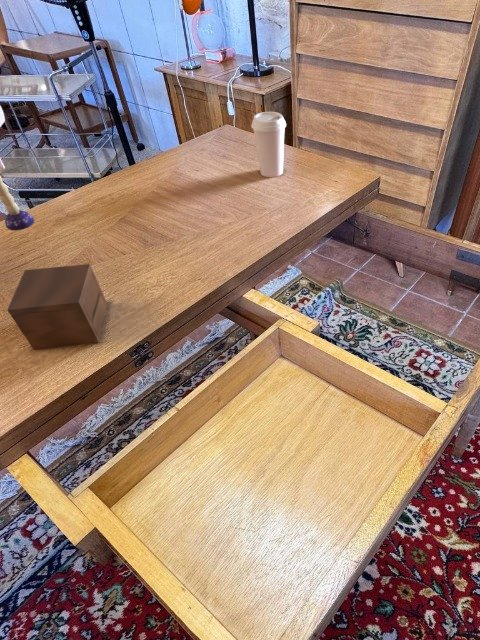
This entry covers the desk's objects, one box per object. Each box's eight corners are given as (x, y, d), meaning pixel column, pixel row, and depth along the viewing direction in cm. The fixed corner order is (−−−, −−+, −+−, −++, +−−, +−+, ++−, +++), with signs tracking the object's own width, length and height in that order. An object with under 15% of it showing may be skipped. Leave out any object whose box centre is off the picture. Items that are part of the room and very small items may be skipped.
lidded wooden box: (35, 352, 83) (6, 309, 75) (49, 312, 91) (24, 270, 83) (100, 344, 84) (78, 302, 76) (108, 305, 92) (89, 263, 84)
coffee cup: (264, 184, 126) (260, 125, 115) (250, 171, 132) (244, 114, 120) (293, 176, 129) (292, 118, 118) (278, 164, 134) (275, 108, 123)
